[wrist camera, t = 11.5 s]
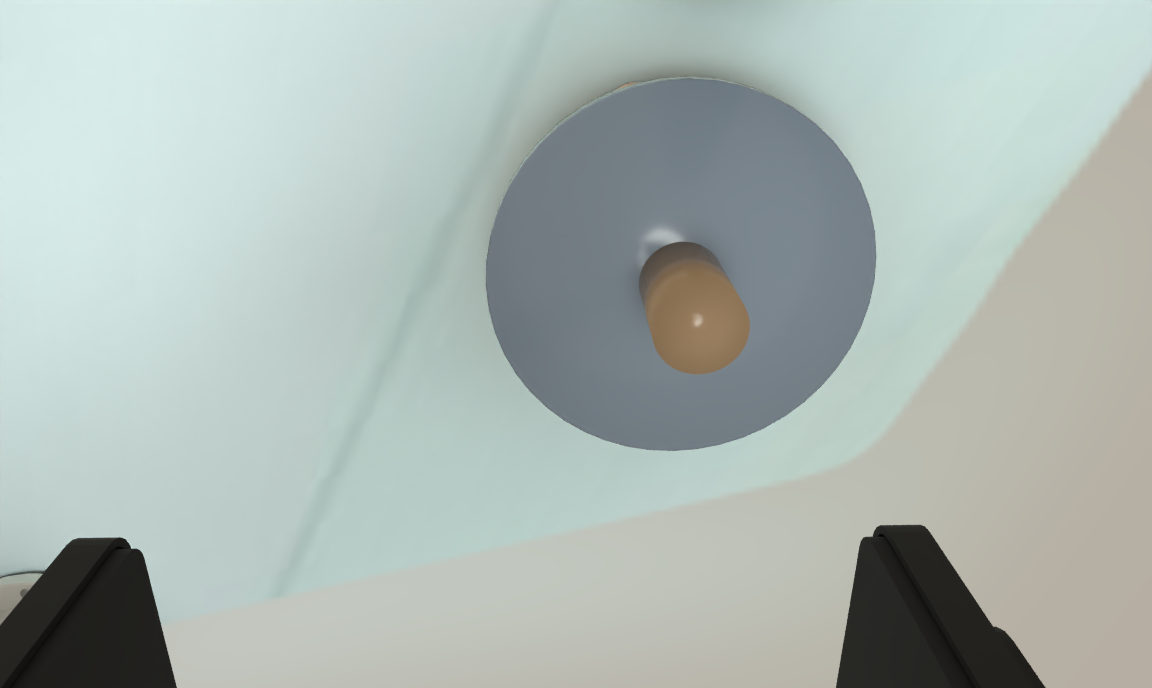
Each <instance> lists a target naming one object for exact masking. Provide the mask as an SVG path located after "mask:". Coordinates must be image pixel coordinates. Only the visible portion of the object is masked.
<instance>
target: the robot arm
mask: <svg viewBox="0 0 1152 688" xmlns="http://www.w3.org/2000/svg"><path fill="white" fill-rule="evenodd" d="M0 688H177V687H176V683H175V679H174V675H173V671H172V667H171V663H170V659H169V655H168V651H167V647H166V643H165V639H164V635H163V631H162V627H161V623H160V619H159V615H158V611H157V607H156V603H155V599H154V595H153V591H152V587H151V583H150V579H149V575H148V571H147V567H146V563H145V559H144V557H143V554H142V552H141V551H140V550H138V549H131V547H130V545H129V543H128V542H127V541H126V540H125V539H123V538H77V539H74V540H72V541H71V542H70V543H69V544H67V545H66V547H65V548H64V549H63V550H62V551H61V553H60V554H59V555H58V556H57V557H56V559H55V560H54V561H53V562H52V563H51V565H50V566H49V567H48V568H47V569H46V571H45V572H44V573H43V574H38V573H27V574H20V575H12V576H7V577H3V578H0ZM836 688H1045V687H1044V685H1043V684H1042V682H1041V681H1040V679H1039V678H1038V676H1037V675H1036V673H1035V672H1034V670H1033V669H1032V668H1031V666H1030V665H1029V663H1028V662H1027V660H1026V659H1025V657H1024V656H1023V654H1022V653H1021V651H1020V650H1019V649H1018V647H1017V646H1016V644H1015V643H1014V641H1013V640H1012V639H1011V638H1010V637H1009V636H1008V635H1007V633H1006V632H1005V631H1003V630H1001V629H999V628H997V627H993V626H992V624H991V623H990V621H989V620H988V618H987V617H986V616H985V614H984V613H983V611H982V610H981V608H980V607H979V605H978V603H977V602H976V600H975V599H974V597H973V596H972V594H971V593H970V592H969V590H968V589H967V587H966V586H965V584H964V583H963V581H962V580H961V578H960V577H959V575H958V574H957V572H956V571H955V569H954V568H953V566H952V565H951V563H950V562H949V560H948V559H947V557H946V556H945V554H944V553H943V551H942V550H941V548H940V547H939V545H938V544H937V542H936V541H935V539H934V538H933V536H932V535H931V533H930V532H929V531H928V529H926V527H925V526H922V525H880V526H878V527H877V528H876V529H875V531H874V534H873V537H864V538H863V539H862V541H861V543H860V547H859V553H858V559H857V565H856V571H855V578H854V583H853V589H852V595H851V601H850V608H849V613H848V619H847V625H846V631H845V637H844V643H843V649H842V655H841V661H840V667H839V673H838V679H837V685H836Z"/></svg>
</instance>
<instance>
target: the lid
mask: <svg viewBox="0 0 1152 688" xmlns="http://www.w3.org/2000/svg"><path fill="white" fill-rule="evenodd" d="M875 266H876V244H875V230H874V225H873V221H872V216H871V211H870V207H869V204H868V201H867V198H866V196H865V193H864V190H863V187H862V185H861V183H860V181H859V179H858V177H857V175H856V174H855V172H854V170H853V168H852V166H851V164H850V162H849V161H848V160H847V158H846V157H845V156H844V154H843V153H842V152H841V150H840V149H839V148H838V146H837V145H836V144H835V142H834V141H833V140H832V139H831V138H830V137H829V136H828V135H827V134H826V133H824V132H823V131H822V130H821V129H820V128H819V127H818V126H817V125H816V124H815V123H814V122H812V121H811V120H810V119H808V118H807V117H806V116H804V115H803V114H801V113H800V112H799V111H797V110H796V109H795V108H793V107H791V106H789V105H788V104H786V103H784V102H782V101H780V100H778V99H776V98H774V97H773V96H771V95H769V94H767V93H765V92H763V91H760V90H757V89H754V88H751V87H748V86H746V85H743V84H740V83H736V82H731V81H726V80H721V79H716V78H706V77H689V76H684V77H671V78H659V79H654V80H650V81H645V82H640V83H636V84H632V85H629V86H626V87H623V88H620V89H618V90H615V91H612V92H609V93H607V94H605V95H603V96H601V97H599V98H597V99H595V100H593V101H591V102H589V103H587V104H585V105H583V106H582V107H580V108H579V109H577V110H576V111H575V112H573V113H572V114H570V115H569V116H567V117H566V118H565V119H563V120H562V121H560V122H559V123H558V124H557V125H556V126H555V127H554V128H553V129H552V130H550V131H549V132H548V133H547V134H546V135H545V136H544V137H543V138H542V139H541V140H540V141H539V142H538V143H537V144H536V146H535V147H534V148H533V149H532V150H531V152H530V153H529V154H528V155H527V156H526V158H525V159H524V160H523V162H522V163H521V165H520V166H519V168H518V170H517V171H516V173H515V174H514V176H513V177H512V179H511V181H510V182H509V185H508V187H507V189H506V191H505V193H504V196H503V198H502V200H501V202H500V204H499V208H498V211H497V214H496V217H495V221H494V224H493V227H492V232H491V236H490V242H489V249H488V255H487V263H486V289H487V297H488V305H489V311H490V315H491V319H492V323H493V326H494V330H495V333H496V336H497V338H498V340H499V343H500V345H501V348H502V350H503V352H504V354H505V356H506V358H507V359H508V361H509V363H510V364H511V366H512V368H513V370H514V371H515V373H516V374H517V376H518V377H519V378H520V379H521V381H522V382H523V383H524V384H525V386H526V387H527V388H528V389H529V391H530V392H531V393H532V394H533V395H534V396H535V397H536V398H537V399H539V400H540V401H541V402H542V403H543V404H544V405H545V406H546V407H547V408H548V409H550V410H551V411H552V412H554V413H555V414H556V415H558V416H559V417H560V418H562V419H563V420H564V421H566V422H568V423H570V424H572V425H573V426H575V427H577V428H579V429H580V430H582V431H584V432H586V433H589V434H591V435H594V436H596V437H598V438H601V439H603V440H606V441H610V442H613V443H617V444H620V445H624V446H628V447H634V448H641V449H647V450H666V451H677V450H690V449H699V448H705V447H710V446H715V445H720V444H723V443H727V442H730V441H733V440H736V439H740V438H743V437H745V436H747V435H750V434H752V433H754V432H756V431H759V430H761V429H763V428H765V427H767V426H769V425H770V424H772V423H774V422H776V421H777V420H779V419H781V418H783V417H784V416H786V415H787V414H789V413H790V412H791V411H793V410H794V409H795V408H797V407H798V406H799V405H801V404H802V403H804V402H805V401H806V400H807V399H808V398H809V397H810V396H811V395H812V394H813V393H814V392H816V391H817V390H818V389H819V388H820V387H821V386H822V385H823V384H824V382H825V381H826V380H827V379H828V378H829V377H830V375H831V374H832V373H833V372H834V371H835V370H836V368H837V367H838V366H839V364H840V363H841V361H842V360H843V358H844V357H845V355H846V354H847V352H848V351H849V349H850V348H851V346H852V344H853V342H854V340H855V338H856V336H857V334H858V332H859V330H860V328H861V326H862V323H863V320H864V317H865V314H866V312H867V309H868V306H869V303H870V298H871V293H872V289H873V284H874V279H875Z"/></svg>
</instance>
